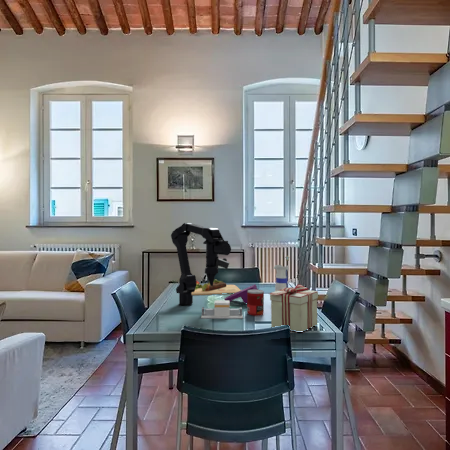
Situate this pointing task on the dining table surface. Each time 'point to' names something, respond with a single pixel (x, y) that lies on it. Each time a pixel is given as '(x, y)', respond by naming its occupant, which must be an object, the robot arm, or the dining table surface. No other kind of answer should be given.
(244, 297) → the mounting bracket
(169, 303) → the dining table surface
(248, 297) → the canned food
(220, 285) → the cutting board
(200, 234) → the robot arm
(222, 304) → the grey slotted block
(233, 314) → the light grey long base
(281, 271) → the water bottle
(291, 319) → the gift box
